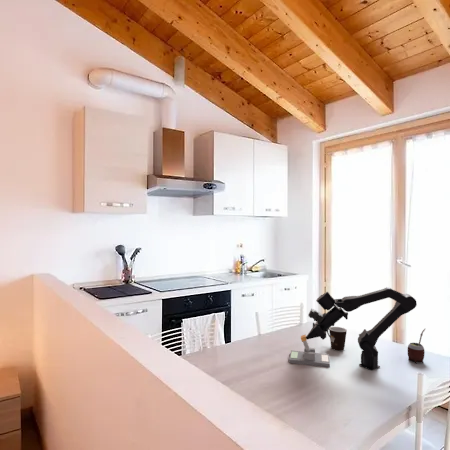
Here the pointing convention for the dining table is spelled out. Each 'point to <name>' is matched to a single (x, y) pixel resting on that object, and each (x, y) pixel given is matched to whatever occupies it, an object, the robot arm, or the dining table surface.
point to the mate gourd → (416, 351)
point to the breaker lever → (305, 343)
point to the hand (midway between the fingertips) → (306, 338)
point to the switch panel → (310, 362)
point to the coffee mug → (337, 338)
